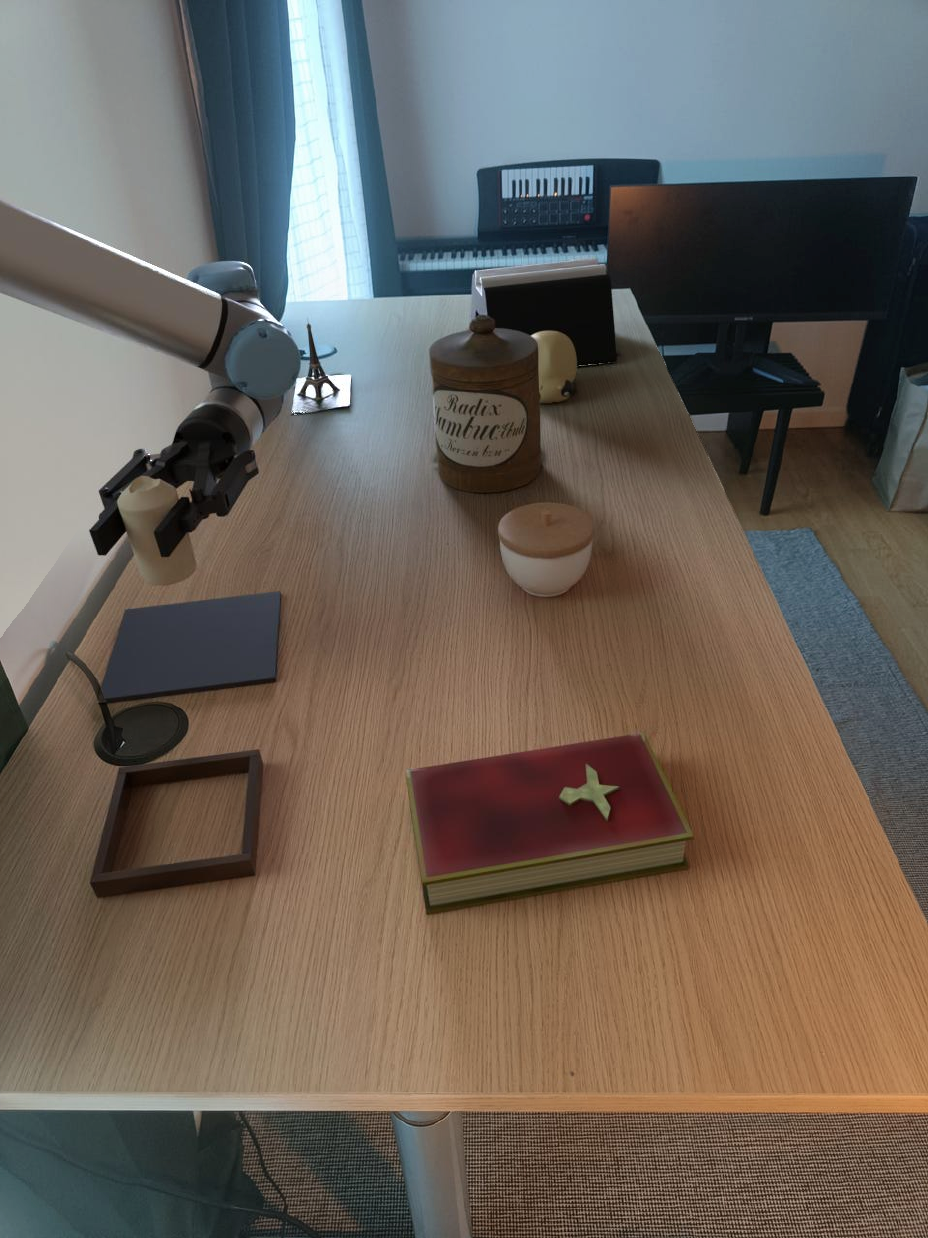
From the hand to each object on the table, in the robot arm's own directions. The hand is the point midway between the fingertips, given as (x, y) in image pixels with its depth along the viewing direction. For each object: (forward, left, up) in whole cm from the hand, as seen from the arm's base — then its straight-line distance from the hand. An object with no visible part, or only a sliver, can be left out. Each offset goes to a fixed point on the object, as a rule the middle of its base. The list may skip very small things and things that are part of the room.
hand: (129, 543), depth 80 cm
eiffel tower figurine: (+15, +76, -18) cm, 79 cm away
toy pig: (+53, +66, -18) cm, 87 cm away
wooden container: (+39, +41, -18) cm, 59 cm away
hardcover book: (+33, -25, -18) cm, 45 cm away
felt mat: (+1, +7, -17) cm, 19 cm away
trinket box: (+41, +11, -18) cm, 46 cm away
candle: (+1, +5, -7) cm, 8 cm away
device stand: (+56, +87, -18) cm, 105 cm away
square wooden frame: (+3, -19, -17) cm, 26 cm away
